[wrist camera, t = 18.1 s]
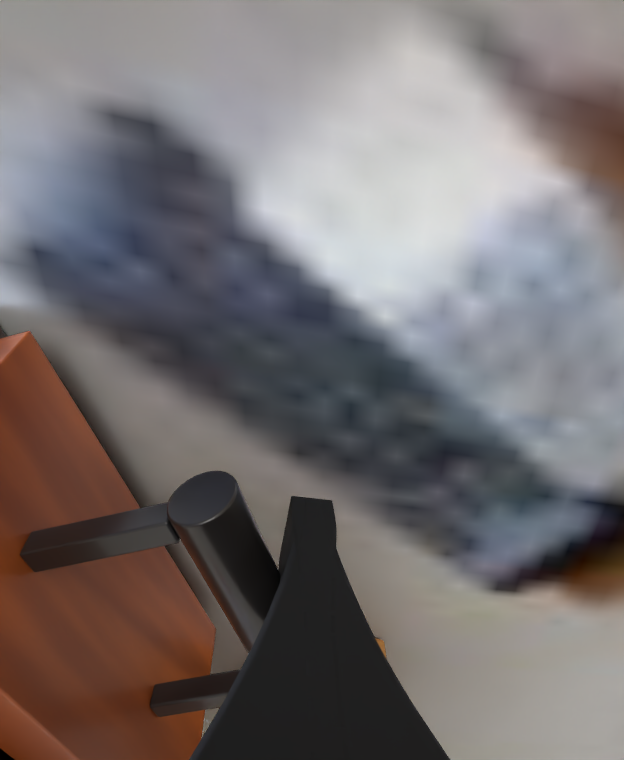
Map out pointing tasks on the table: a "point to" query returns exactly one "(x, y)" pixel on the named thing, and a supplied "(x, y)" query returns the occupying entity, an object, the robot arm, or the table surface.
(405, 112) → the table surface
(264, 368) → the table surface
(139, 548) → the drawer
